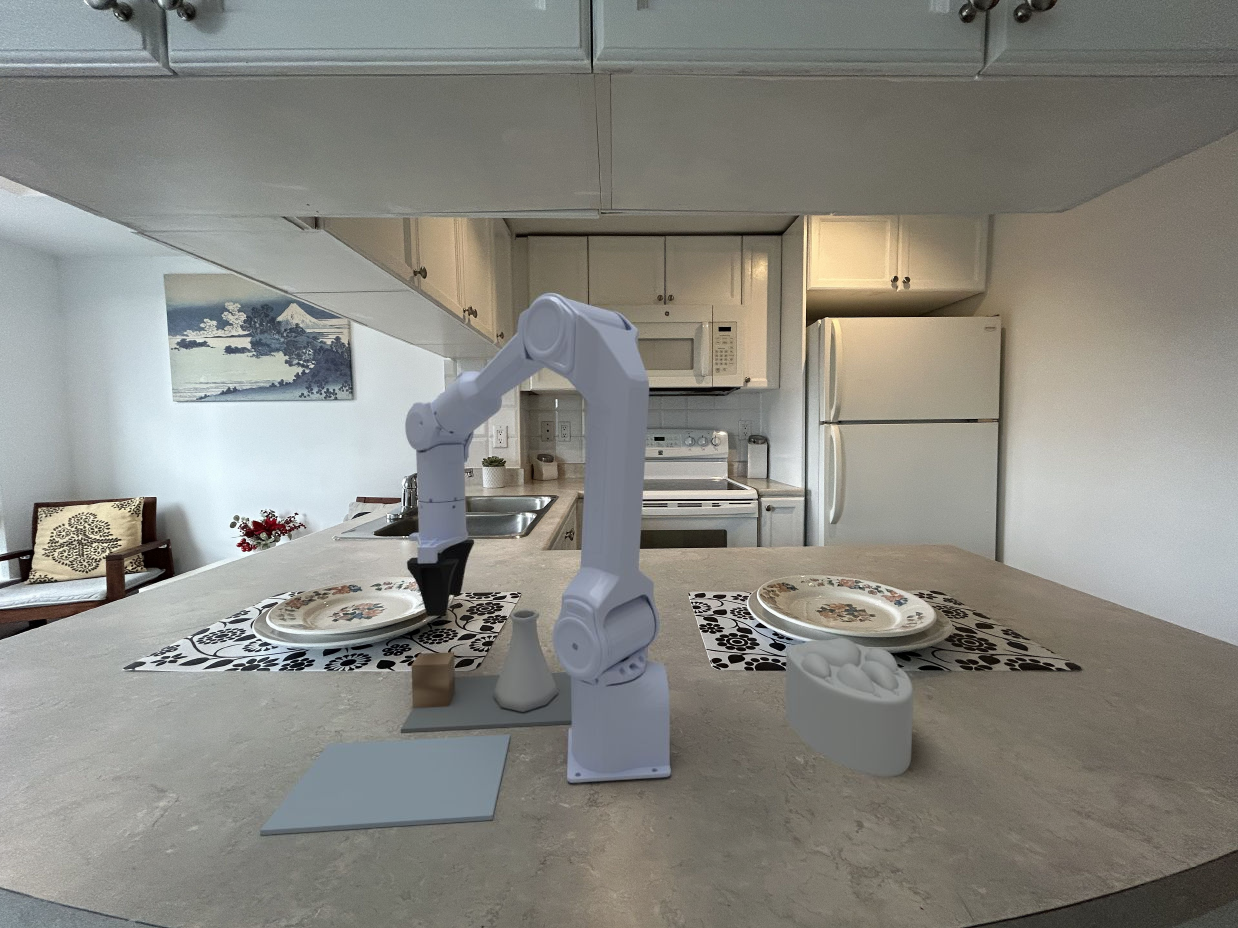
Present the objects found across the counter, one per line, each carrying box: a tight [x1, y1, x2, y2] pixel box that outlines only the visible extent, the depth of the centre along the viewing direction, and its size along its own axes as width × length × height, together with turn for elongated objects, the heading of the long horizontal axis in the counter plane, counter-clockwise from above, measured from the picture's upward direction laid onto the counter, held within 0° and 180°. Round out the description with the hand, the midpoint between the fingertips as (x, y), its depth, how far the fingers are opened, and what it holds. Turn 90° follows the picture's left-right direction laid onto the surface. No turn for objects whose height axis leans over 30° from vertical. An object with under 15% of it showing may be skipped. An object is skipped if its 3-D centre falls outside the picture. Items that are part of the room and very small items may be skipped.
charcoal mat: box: [400, 651, 572, 734], centre depth 59 cm, size 18×11×5 cm, turn 95°
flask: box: [493, 608, 558, 712], centre depth 60 cm, size 7×7×10 cm
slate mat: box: [259, 734, 511, 836], centre depth 46 cm, size 18×11×1 cm, turn 95°
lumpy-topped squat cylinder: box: [784, 637, 914, 778], centre depth 53 cm, size 10×13×9 cm
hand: (445, 604), depth 65 cm, fingers open, 7 cm apart
